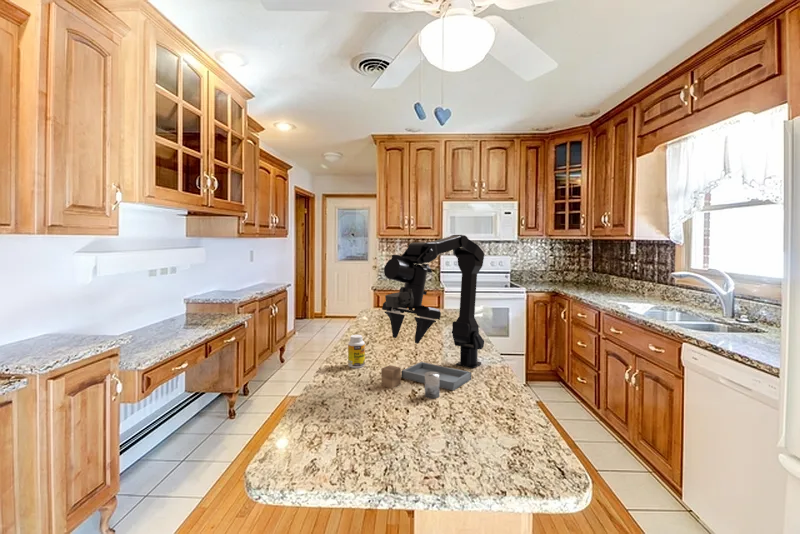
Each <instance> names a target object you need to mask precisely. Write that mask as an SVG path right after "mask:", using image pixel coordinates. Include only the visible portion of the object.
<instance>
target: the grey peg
mask: <svg viewBox="0 0 800 534" xmlns="http://www.w3.org/2000/svg"><path fill="white" fill-rule="evenodd" d="M440 388H441V387H440V374H439V373H438V372H426V373H425V383H424V397H425V398H427V399H430V400H431V399H433V400H434V399H438V398H439V397H440V395H441V394H440V392H441V391H440Z"/></svg>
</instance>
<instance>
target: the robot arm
mask: <svg viewBox="0 0 800 534" xmlns="http://www.w3.org/2000/svg"><path fill="white" fill-rule="evenodd" d="M450 251H452V254H453V255H454V256H455V257H456V259H457V266H458V268H459V270H460V272H461V283H460V285H461V286H460V299H459V301H460V302H459V313H458V318H457V319H456V320H454V321H452V328H451V329H452V330H451V334H452V339H453V342H454V343H453V344H454V346H456V347H457V346H458V347H460V349H459V351H460V353H459V356H460V357H459V361H458V362H456V365H455V366H460V367H465V368H468V369H469V368H470V369H475V368H476V367H479V366H480V365H481V364H482V361H478V359H479V357H478V355H479V354H478V353H479V352H478V350H483V348H484V347H485V340H484V339H483V337H482V336H481V333H480V330H479V329H480V328H479V324H478V322H477V320H476V317H475V312H476V298H477V297H476V296H477V295H476V294H477V282H478V273H479V272H480V271H481V269H482V268H483V266H484V265H483V264H484V260H485V252H484V251H483V250H482V248H481V247H480V246H479V244H477V243H476V242H474V241H472V240H470V239H469V237H467V236H466V234H465V235H464V234H452V235H450V236H447V237H444V238H440V239H437V240H433V241H430V242H429V241H427V242H425V241H424V242H423V241H421V242H410V243H409V244H408V247H407V248H406V249H405V250H404V251H403V253H402V255H399V254H392V255H391V259H389V260H388V261H387V262H386V264H385V265H384V269H383V272H384V273H383V275H384V276H385V278H387V279H389V280H392V281H395V282H399V283H403V284H404V286H400V288H399V291H397V292H393V293H390V294H389V293H388V294H386V295H384V297H385V301H384V302H383V303H382V307H381V310H383V311H384V313H385V314H386V315H387V317H388V318H389V321H390V327H391V333H392V338H394V339H397V338H398V335H399V333H400V330H401V327H402V324H403V322H404V319H405V316H406V315H405V314H404V313H410V314H415V315H416V316H413V317H414V320H415V322H416V326H415V327H416V328H415V334H414V343H415V344H418V345H419V343H420V342H421V340H422V339H423V337H425V335H426V333H427V332H428V330H429V329H431V326H433V324H434V323H437V320H438V321H439V320H441V314H442V313H441V310H440V308H435V307H429V306H425V305H423V304H422V303H423V299H424V296H426V295H427V293H428V291H425V286H426V280H427V274H432V273H433V270H432V268H431V267H430V265H429V263H431V262H433V261H434V260H436V259H437V258H438V256H439V255H441V254H444V253H447V252H450Z"/></svg>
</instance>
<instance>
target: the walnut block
mask: <svg viewBox="0 0 800 534" xmlns="http://www.w3.org/2000/svg"><path fill="white" fill-rule="evenodd" d="M380 371H381V376H380V377H381V386H383V387H386V388H390V389H394V388H396V387H398V386H400V385H401V384H402V383H401V382H402V380H401V379H402V369H401V367H400V366H395V365H391V364H389V365H386V366H385V367H382V368H381V370H380Z"/></svg>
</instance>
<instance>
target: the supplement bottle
mask: <svg viewBox="0 0 800 534" xmlns="http://www.w3.org/2000/svg"><path fill="white" fill-rule="evenodd" d="M365 347H366V345H365V341H364V340H363V335H361V334H351V335H350V339H349V341H348V343H347V354H348V355H347V356H348V357H347V359H348V360H347V362H348V363H347V365H348V367H349V368H352V369H360V368H363V367H364V366H365V365H366V357H365V356H366V352H365V351H366V350H365V349H366V348H365Z"/></svg>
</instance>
